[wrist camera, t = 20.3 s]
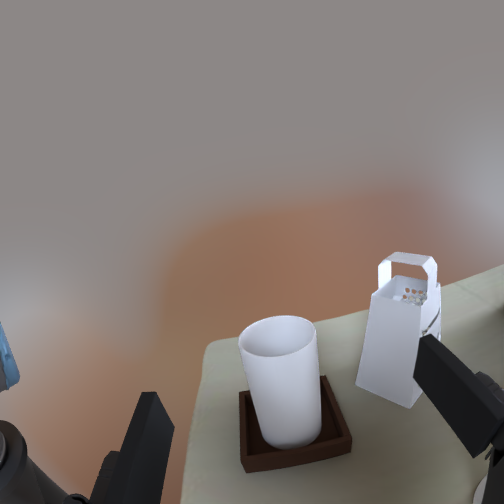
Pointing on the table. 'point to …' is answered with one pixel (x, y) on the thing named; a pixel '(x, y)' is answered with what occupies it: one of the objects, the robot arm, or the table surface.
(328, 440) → the tray
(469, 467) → the table surface
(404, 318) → the grater
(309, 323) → the cup
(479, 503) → the base with upright slab
